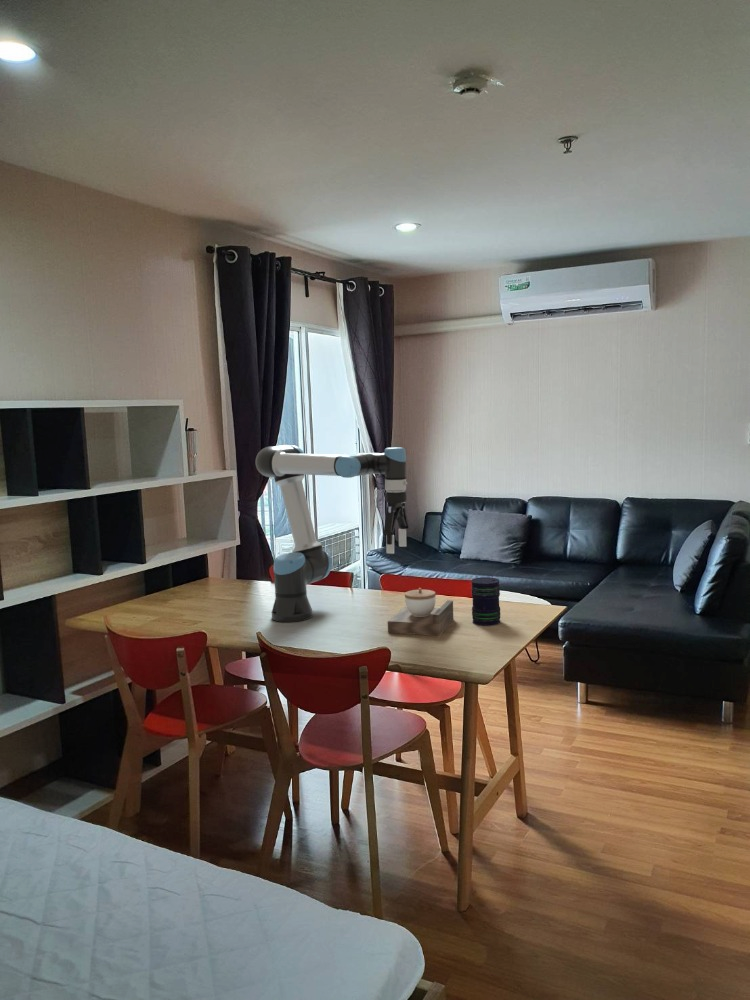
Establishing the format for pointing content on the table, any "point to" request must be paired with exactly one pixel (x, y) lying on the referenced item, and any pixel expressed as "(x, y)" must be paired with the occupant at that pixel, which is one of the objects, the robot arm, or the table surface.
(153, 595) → the table surface
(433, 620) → the riser block
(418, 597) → the lidded jar
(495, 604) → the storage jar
